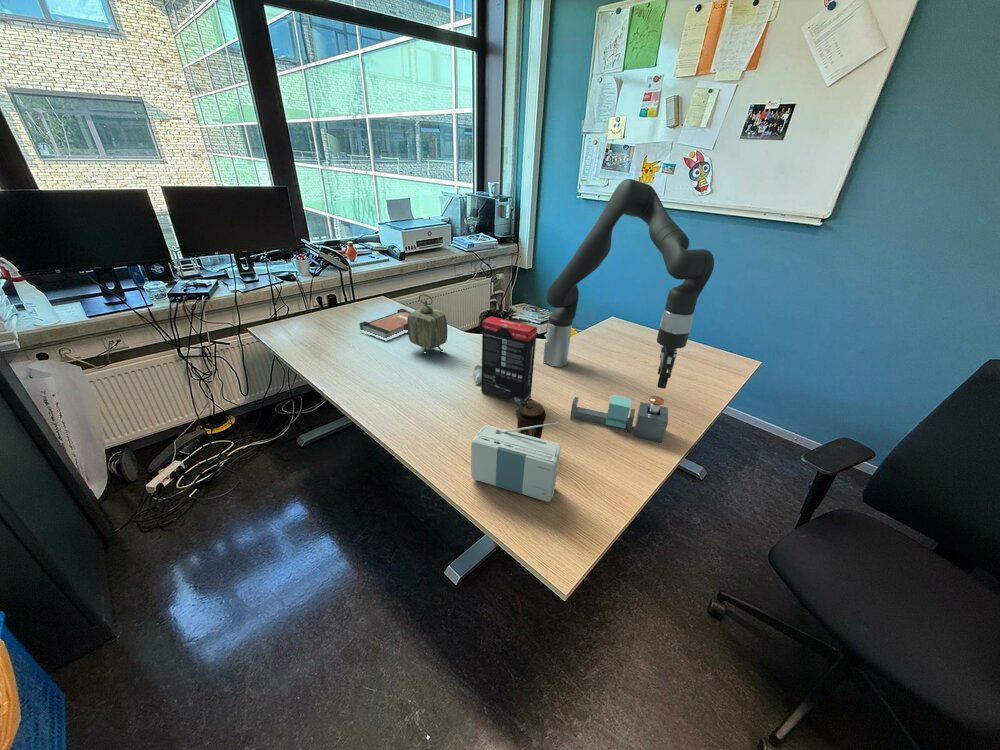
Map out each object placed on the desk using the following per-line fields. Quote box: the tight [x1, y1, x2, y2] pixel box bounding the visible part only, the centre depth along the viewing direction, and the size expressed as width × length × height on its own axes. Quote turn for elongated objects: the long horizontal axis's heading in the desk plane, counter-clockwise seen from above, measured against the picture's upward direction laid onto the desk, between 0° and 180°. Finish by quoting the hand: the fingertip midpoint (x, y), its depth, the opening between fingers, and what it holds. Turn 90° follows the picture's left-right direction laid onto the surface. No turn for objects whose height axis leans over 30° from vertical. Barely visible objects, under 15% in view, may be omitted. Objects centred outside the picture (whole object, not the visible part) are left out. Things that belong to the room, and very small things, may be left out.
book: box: [359, 308, 412, 338], centre depth 187 cm, size 26×18×5 cm
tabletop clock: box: [407, 293, 448, 353], centre depth 160 cm, size 14×9×25 cm, turn 58°
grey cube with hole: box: [633, 401, 669, 444], centre depth 119 cm, size 8×8×8 cm
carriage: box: [605, 394, 632, 428], centre depth 122 cm, size 6×5×8 cm
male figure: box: [472, 358, 482, 384], centre depth 152 cm, size 11×10×25 cm
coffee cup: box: [515, 401, 547, 439], centre depth 111 cm, size 9×8×13 cm
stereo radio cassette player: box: [470, 421, 561, 503], centre depth 96 cm, size 21×8×20 cm, turn 69°
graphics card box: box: [480, 316, 538, 406], centre depth 131 cm, size 17×7×27 cm, turn 61°
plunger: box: [648, 395, 665, 415], centre depth 117 cm, size 4×4×7 cm
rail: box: [569, 396, 636, 434], centre depth 124 cm, size 19×4×6 cm, turn 70°
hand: (661, 380), depth 112 cm, fingers open, 8 cm apart
